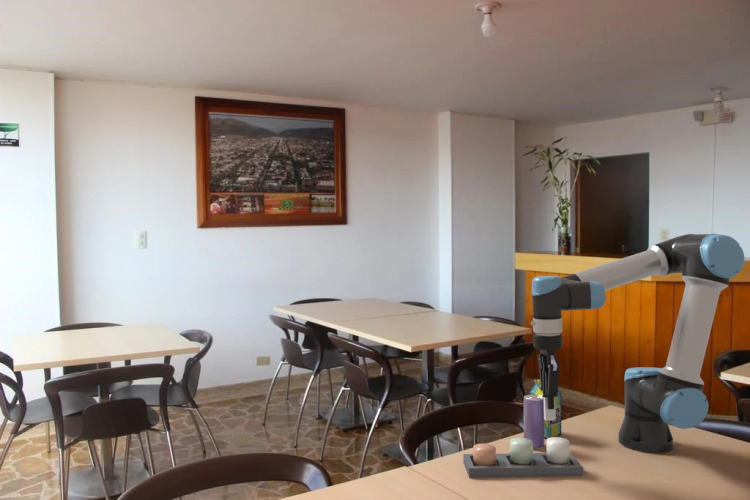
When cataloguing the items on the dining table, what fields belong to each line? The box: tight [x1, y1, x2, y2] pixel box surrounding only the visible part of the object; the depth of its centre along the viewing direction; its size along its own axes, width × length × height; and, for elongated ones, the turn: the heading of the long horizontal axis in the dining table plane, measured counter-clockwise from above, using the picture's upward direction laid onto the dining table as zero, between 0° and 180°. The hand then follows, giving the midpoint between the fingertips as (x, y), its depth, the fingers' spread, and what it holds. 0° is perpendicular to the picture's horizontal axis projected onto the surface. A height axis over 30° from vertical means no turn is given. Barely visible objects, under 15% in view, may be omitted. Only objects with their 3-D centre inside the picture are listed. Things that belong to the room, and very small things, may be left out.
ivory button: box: [546, 436, 571, 465], centre depth 159 cm, size 6×6×5 cm
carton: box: [528, 379, 562, 440], centre depth 186 cm, size 7×8×18 cm
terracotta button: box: [472, 443, 497, 466], centre depth 159 cm, size 6×6×5 cm
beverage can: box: [523, 394, 545, 450], centre depth 176 cm, size 6×6×15 cm
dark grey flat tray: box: [462, 452, 584, 479], centre depth 159 cm, size 30×10×2 cm, turn 90°
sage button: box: [509, 437, 534, 465], centre depth 159 cm, size 6×6×5 cm
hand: (549, 419), depth 159 cm, fingers closed
